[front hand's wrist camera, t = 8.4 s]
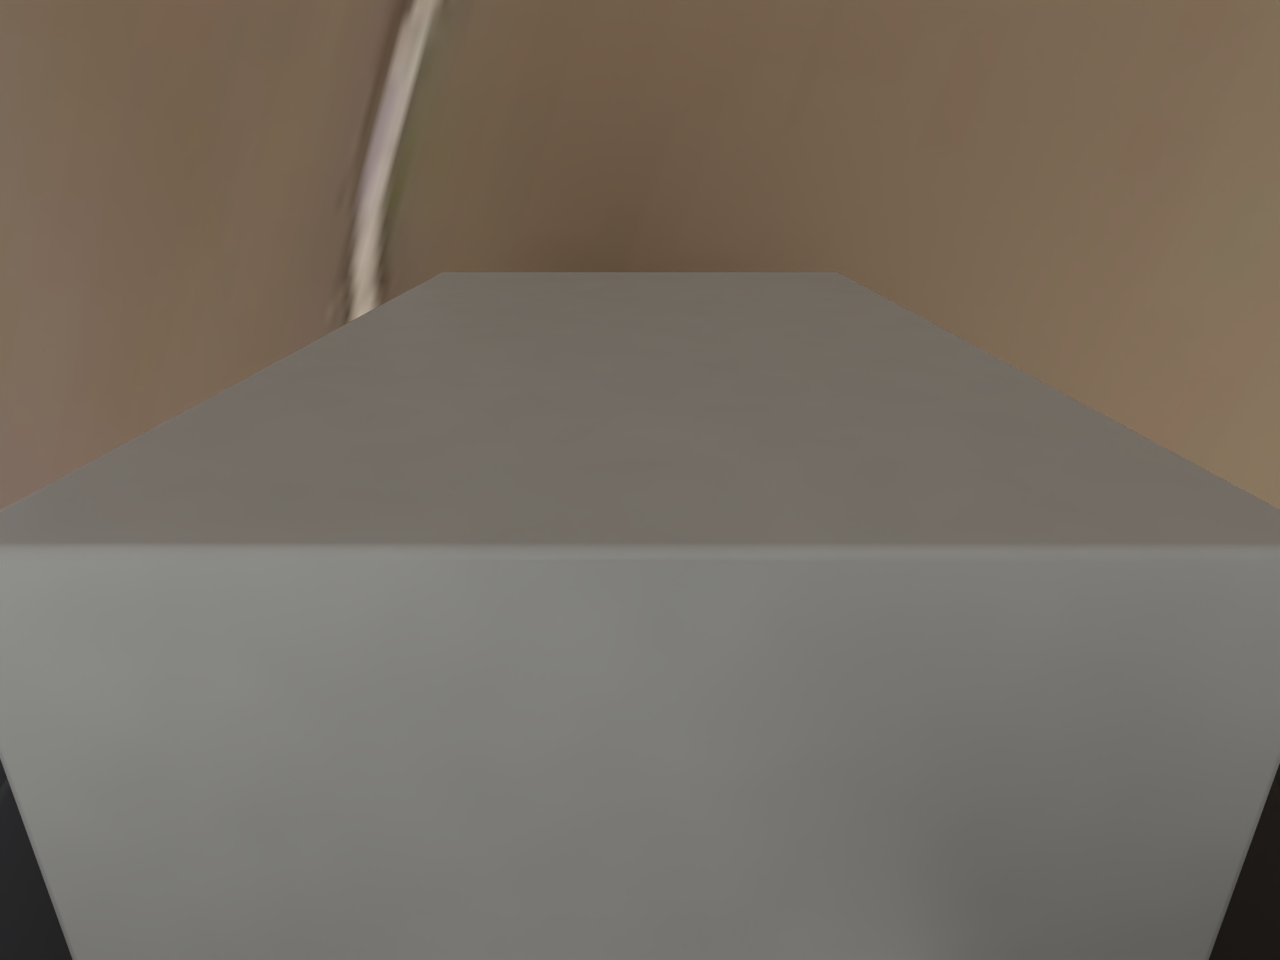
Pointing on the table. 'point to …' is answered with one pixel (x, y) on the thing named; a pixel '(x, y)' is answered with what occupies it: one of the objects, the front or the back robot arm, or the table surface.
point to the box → (640, 647)
